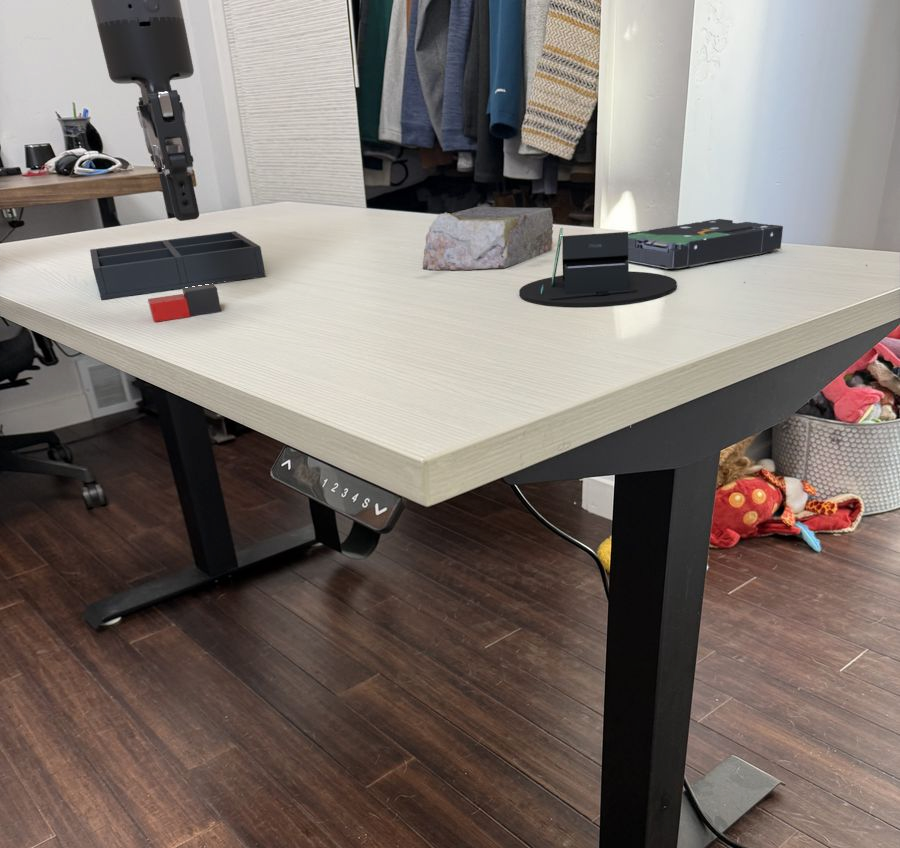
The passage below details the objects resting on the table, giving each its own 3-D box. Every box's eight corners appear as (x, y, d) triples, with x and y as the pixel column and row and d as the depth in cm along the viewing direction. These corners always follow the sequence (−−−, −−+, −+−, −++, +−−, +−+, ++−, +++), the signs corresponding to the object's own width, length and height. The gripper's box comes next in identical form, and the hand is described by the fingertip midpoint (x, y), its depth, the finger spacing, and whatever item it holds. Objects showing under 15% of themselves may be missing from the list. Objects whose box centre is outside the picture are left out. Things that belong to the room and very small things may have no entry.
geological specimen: (556, 205, 105) (500, 216, 93) (554, 258, 107) (500, 275, 96) (478, 204, 109) (416, 214, 98) (479, 255, 112) (418, 271, 101)
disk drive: (716, 244, 101) (612, 260, 96) (718, 218, 100) (613, 233, 95) (782, 252, 93) (673, 271, 88) (785, 224, 92) (675, 242, 86)
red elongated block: (154, 322, 86) (148, 297, 85) (151, 316, 89) (146, 292, 88) (222, 312, 88) (217, 287, 87) (217, 306, 91) (212, 283, 90)
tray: (101, 300, 100) (92, 268, 98) (97, 277, 116) (89, 249, 114) (265, 276, 106) (260, 246, 104) (240, 257, 121) (235, 231, 120)
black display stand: (668, 270, 89) (671, 213, 86) (684, 301, 76) (688, 234, 73) (523, 279, 91) (521, 223, 88) (514, 310, 78) (512, 246, 75)
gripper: (94, 29, 81) (139, 215, 89) (97, 11, 69) (149, 227, 78) (175, 24, 83) (212, 207, 91) (191, 5, 71) (232, 217, 80)
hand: (183, 216), depth 84 cm, fingers open, 8 cm apart
